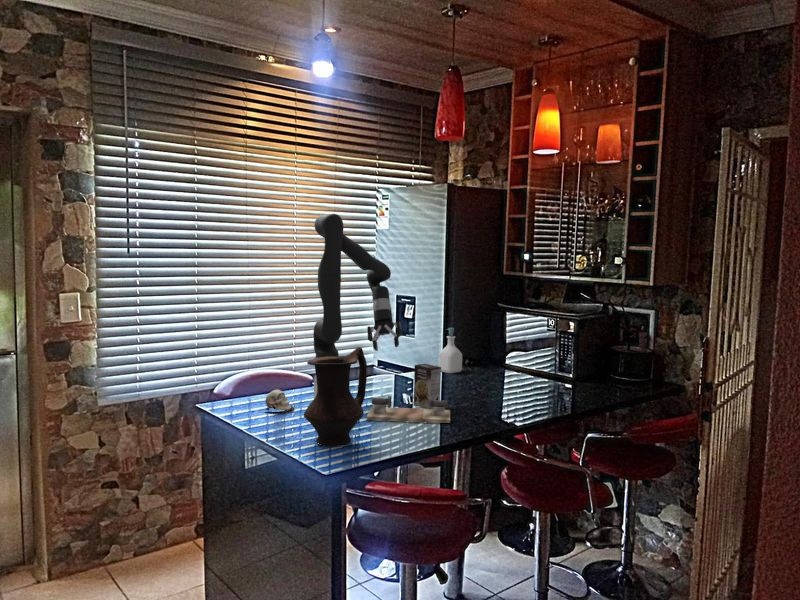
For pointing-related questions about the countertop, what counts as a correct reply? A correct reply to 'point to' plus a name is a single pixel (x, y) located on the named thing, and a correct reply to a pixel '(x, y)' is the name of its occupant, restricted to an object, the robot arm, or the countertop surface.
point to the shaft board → (409, 412)
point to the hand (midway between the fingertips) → (386, 348)
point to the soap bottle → (450, 356)
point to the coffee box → (426, 384)
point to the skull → (278, 401)
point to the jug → (336, 398)
